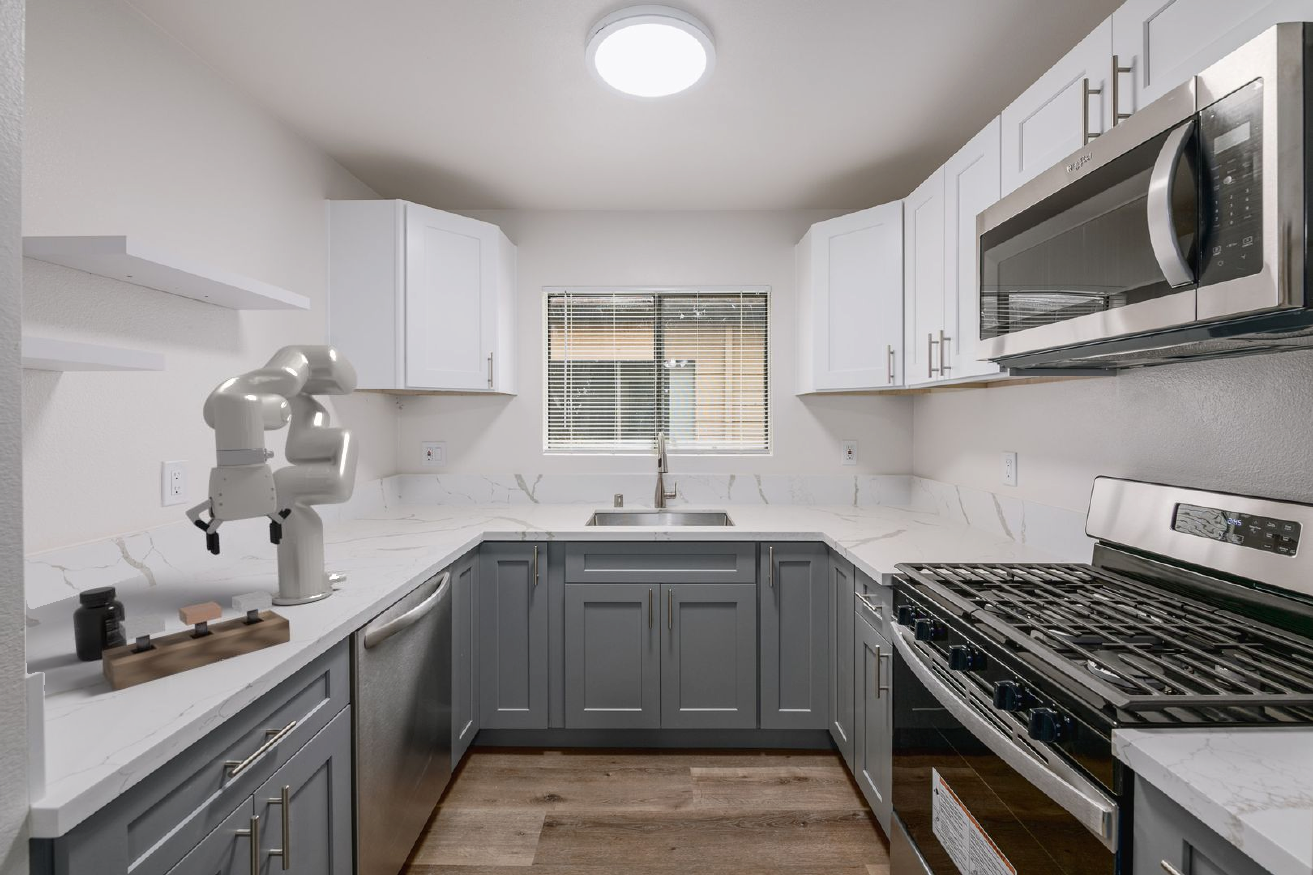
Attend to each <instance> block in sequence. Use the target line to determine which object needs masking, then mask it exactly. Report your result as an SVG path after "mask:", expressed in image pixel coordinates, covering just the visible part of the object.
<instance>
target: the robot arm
mask: <svg viewBox="0 0 1313 875" xmlns="http://www.w3.org/2000/svg"><path fill="white" fill-rule="evenodd" d="M357 385H358V376H357V371H356V369H355V367H354V366H353V364H352V363H351V362H350V361H349V359H348V358H347V356H346V355H345V354H344V353H343V352H342V351H340V350H339V348H337V347H334V346H332V345H328V344H327V345H326V344H323V345H322V344H291V345H285V346H283V347H281V348H280V349H278V350H277V351H276V352H275V353H274V355H273V356H271V358H269V360H268V362H266V364H265V365H264V366H263V367H261V368H258V369H254V370H252V371H249V372H246V373H243V374H240V375H237V376H234V377H231V378H229V379H226V380H225V381H223V382H221V383H220V384H219V385H217V386H216V387H215V388H214V389H213V391H211V392H210V394H209V395H208V397H207V398H206V400H205V402H204V405H203V408H202V410H203V411H202V414H203V416H202V417H203V419H204V422H205V423H206V425H207V426H208V427H210V429H212V430H214V434H215V436H214V437H215V453H216V466H215V467H212V468H211V469H210V473H209V480H208V481H209V482H208V495H207V496H208V497H207V500H205V501H203V502H201V503H199V504H197V505H195V506H193V507H192V508H190V509H188V510H186V511H185V515H186V516H187V517H188V519H189V520H190V522H192V524H193V525H194V526H195V527H197V529H198V528H199V529H200V530H202V531H203V532H204V533H205V541H206V550H207V551H208V552H210V553H211V554H213V555H214V556H218V555H220V553H221V551H220V550H221V548H220V533H218V532H217V530H218V528H219V527H220V526H221V525H222V524H223V522H231V521H232V522H233V521H239V520H247V519H248V520H249V519H254V518H255V519H257V518H262V517H267V518H269V520H271V522H270V523H269V542H270V543H271V544H273V545H276V555H277V556H276V558H277V576H278V592H275V593H274V594H272V595H271V596H272V604H274V605H280V606H288V605H291V606H293V605H300V604H306V603H311V602H315V601H319V600H321V599H325V598H327V597H330V596H331V595H332V594H333V592H334V589H333V587H332V585H334V584H335V583H341V582H346V581H347V574H346V573H345V572H343V573H339V574H336V573H333V574H328V573H326V572H325V569H326V568H325V554H324V553H325V549H324V547H325V546H324V525H323V524H324V523H323V521H322V519H321V518H322V517H321V516H320V515H319V514H318V513H317V512H316V511H315V509H314V508H313V507H312V506H318V505H319V506H321V505H338V504H344V503H347V502H348V501H349V500H350V499H351V498H352V496H353V492H354V488H355V483H356V482H355V481H356V472H357V466H358V464H357V463H358V459H359V458H358V457H359V441H358V438H357V435H356V433H355V432H354V430H351V429H350V428H346V427H330V421H331V417H330V413H329V412H328V410H326V408H325V406H323V405H322V403H321V402H319V401H318V400H316V399H315V397H313V396H343V395H344V396H346V395H350V394H352V393H353V392H354V391H355V390H356V388H357V387H358V386H357ZM288 423H289V427H288V432H287V437H286V442H285V448H284V457H285V459H286V461H287V462H288V463H289V464H290V466H285V467H281V468H278V469H276V470H275V471H274V472H272V469H271V468H272V467H271V465H270V464H268V463H267V462H268V459H271V458H275V454H274V451H273V450H267V448H266V447H265V446H266V445H265V444H266V443H265V442H266V441H265V432H267V431H278V430H280V429H283V428H284V427H286V426H287V425H288ZM205 511H208V516H209V518H210V519H209V520H208V521H207V522H205V521H203V519H202V518H201V516H200V514H201V513H203V512H205Z"/></svg>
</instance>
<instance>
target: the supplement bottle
mask: <svg viewBox="0 0 1313 875" xmlns="http://www.w3.org/2000/svg"><path fill="white" fill-rule="evenodd" d="M116 593H117V592H116V587H115V586H102V587H96V588H91V589H86V590H83V591H81V592H80V593H78V596H79V602H78V603H79V604H80V605H81V606H79V607H78V608H77V609H75V611H74V612H73V614H72V615H73V616H72V617H73V618H72V619H73V631H74V640H75V641H74V645H75V654H76V658H77V660H79V661H83V662H86V661H87V662H89V661H96V660H101V659H102V651H104V650H108V649H112V648H117V647H121V646H125V645H128V640H125V638H124V637H123V636H122V635H121V634H120V628H119V622H120V621H125V620H126V612H125V605H124V603H123V602H122V601H121V600H117V599H116V598H117V594H116Z"/></svg>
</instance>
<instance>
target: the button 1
mask: <svg viewBox="0 0 1313 875" xmlns="http://www.w3.org/2000/svg"><path fill="white" fill-rule="evenodd" d="M165 620H166V619H165V618H163V617H162V616H161V615H160V614H159V613H153V614H149V615H144V616H139V617H134V618H130V619H125V621H120V622H119V628H120V634H121V635H122V636H123V637H124V638H125V640H127V641H128V640H129V641H130V640H133V639H135V643H136V651H137V654H138V653H142V652H146V651H150V650H151V647H150V639H151V635H154V634H157V633H162V632H166V622H165Z"/></svg>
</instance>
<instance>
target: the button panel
mask: <svg viewBox="0 0 1313 875" xmlns="http://www.w3.org/2000/svg"><path fill="white" fill-rule="evenodd" d="M258 617H259V623H256V624H252V625H248V626H247V615H244V616H239V617H236V618H232V619H228V620H225V621H219V622H216V623H212V624H207V628H208V636H205V637H201V638H197V639H195V628H191V629H186V630H183V631H179V632H175V633H171V634H166V635H163V636H162V635H161V636H157V637H155V638H150V647H151V650H150V651H146V652H142V653H138V654H137V651H136V642H134V643H130V644H127V645H125V646H121V647H117V648H112V649H108V650H104V651H102V674H103V676H104V678H106V680H107V682H108V683H109V684H110V686H111V687H112V689H113V690H114V691H115V692H116V691H120V690H124V689H128V688H130V687H133V686H138V685H141V684H144V683H148V682H151V681H155V680H157V679H162V678H165V677H169V676H172V675H175V674H178V673H183V672H186V671H190V670H193V668H194V669H196V668H201V667H203V666H207V665H206V664H208V665H210V664H209V663H211V664H213V663H214V662H215V663H217V661H218V662H220V661H219V660H221V661H223V660H222V659H225V660H228V659H232V658H235V657H238V656H237V655H239V656H241V655H245V654H250V653H252V652H256V651H259V650H263V649H267V648H270V647H273V646H276V645H280V644H284V643H288V642H291V631H290V630H291V628H290V627H291V626H290V620H289V619H287V618H285V617H284V616H282V615H280V614H278V613H276V612H275V611H273V610H271V609H268V610H265V611H260V612H258ZM231 657H232V658H231Z"/></svg>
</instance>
